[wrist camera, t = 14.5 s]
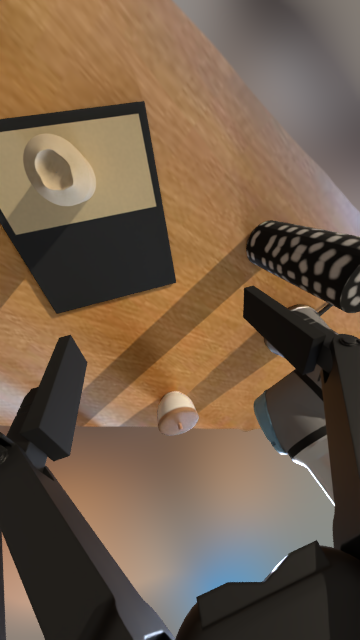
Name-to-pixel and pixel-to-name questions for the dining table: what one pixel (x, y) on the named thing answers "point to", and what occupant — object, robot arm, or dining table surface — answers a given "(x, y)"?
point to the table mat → (89, 208)
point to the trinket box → (176, 414)
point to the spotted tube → (310, 260)
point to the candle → (58, 170)
